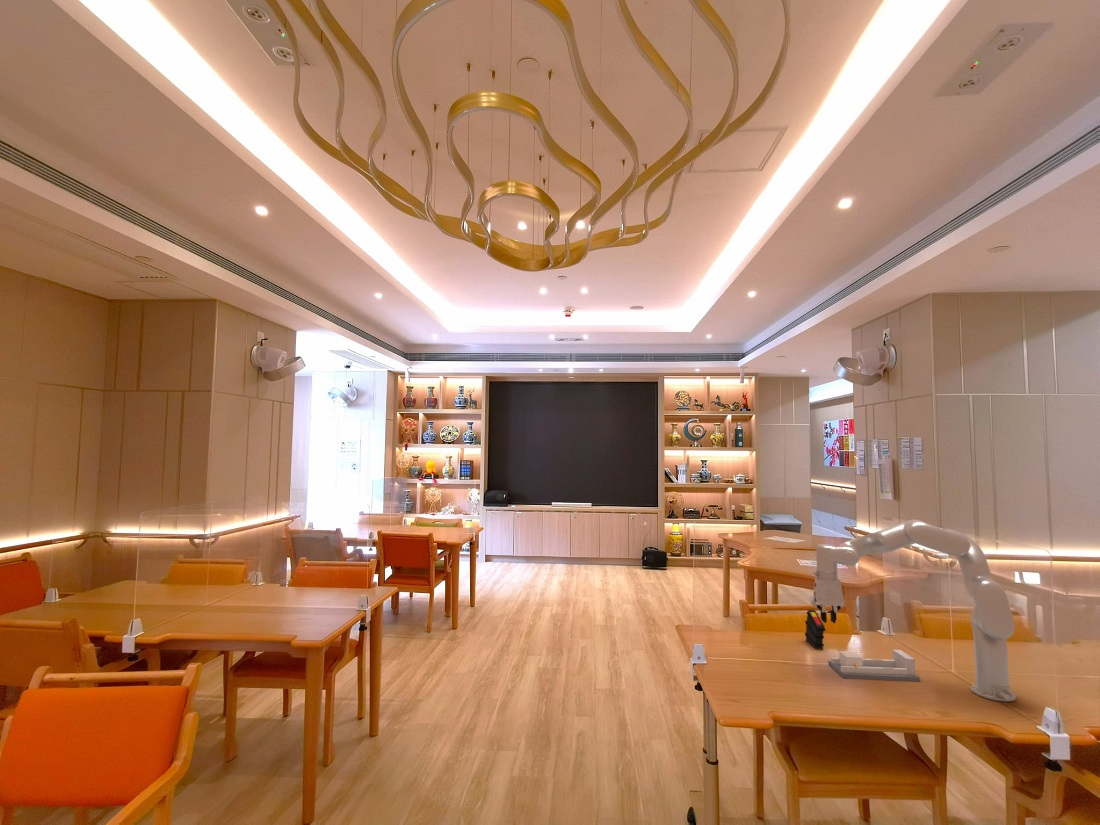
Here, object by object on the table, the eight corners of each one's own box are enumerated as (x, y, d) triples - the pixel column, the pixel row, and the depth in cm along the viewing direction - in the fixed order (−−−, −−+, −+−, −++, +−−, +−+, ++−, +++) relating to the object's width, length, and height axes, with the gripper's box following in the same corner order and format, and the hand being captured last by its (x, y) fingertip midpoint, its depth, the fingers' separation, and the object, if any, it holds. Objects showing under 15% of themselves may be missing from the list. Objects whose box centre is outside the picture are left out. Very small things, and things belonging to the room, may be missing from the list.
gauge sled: (865, 673, 211) (865, 659, 212) (849, 672, 212) (849, 659, 212) (852, 662, 222) (852, 649, 223) (837, 661, 223) (836, 649, 223)
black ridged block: (810, 635, 256) (815, 609, 250) (822, 657, 243) (827, 630, 238) (802, 635, 256) (807, 609, 250) (813, 656, 244) (819, 630, 238)
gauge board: (919, 681, 208) (919, 661, 208) (843, 678, 211) (842, 658, 211) (900, 667, 222) (899, 648, 222) (828, 664, 224) (827, 645, 225)
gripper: (809, 577, 218) (811, 624, 216) (852, 578, 216) (854, 625, 215) (803, 572, 225) (804, 618, 224) (844, 574, 223) (845, 619, 222)
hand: (828, 621), depth 219 cm, fingers open, 2 cm apart
